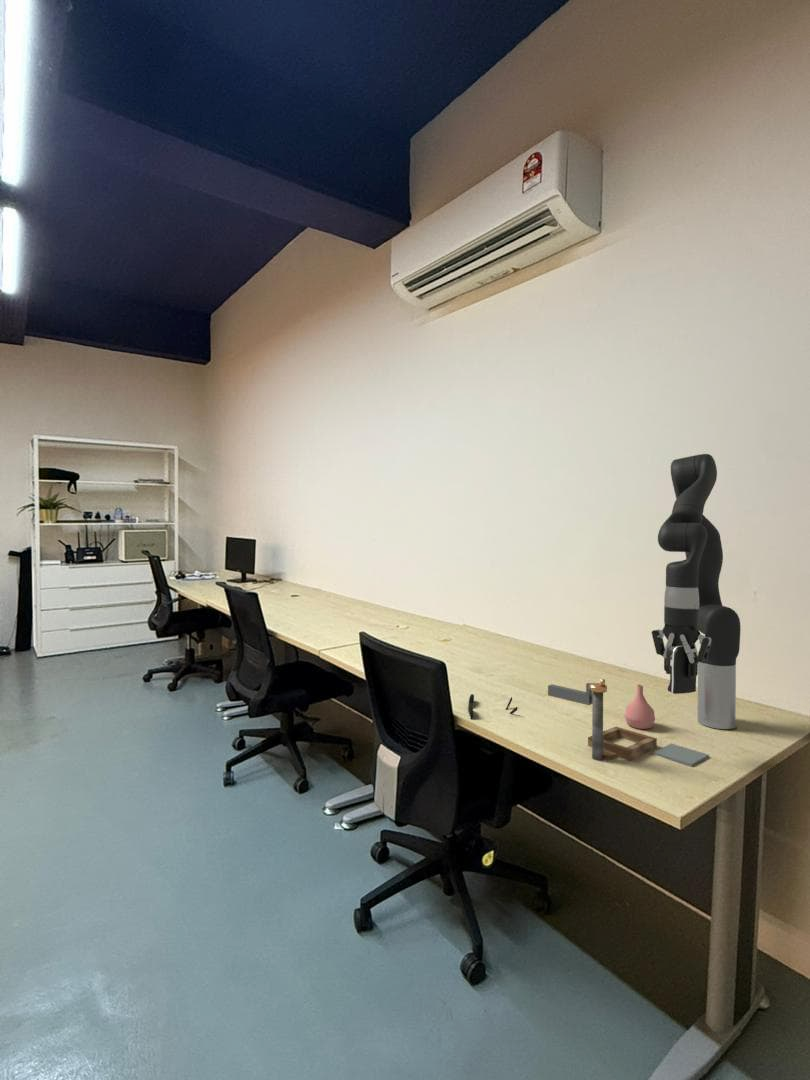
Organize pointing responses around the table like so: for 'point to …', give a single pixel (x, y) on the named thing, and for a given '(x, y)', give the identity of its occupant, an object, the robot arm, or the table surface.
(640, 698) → the pink vase
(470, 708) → the thin black curved strips
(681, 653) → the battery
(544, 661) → the table surface
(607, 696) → the table surface
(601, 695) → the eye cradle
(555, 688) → the bar
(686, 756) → the pad
